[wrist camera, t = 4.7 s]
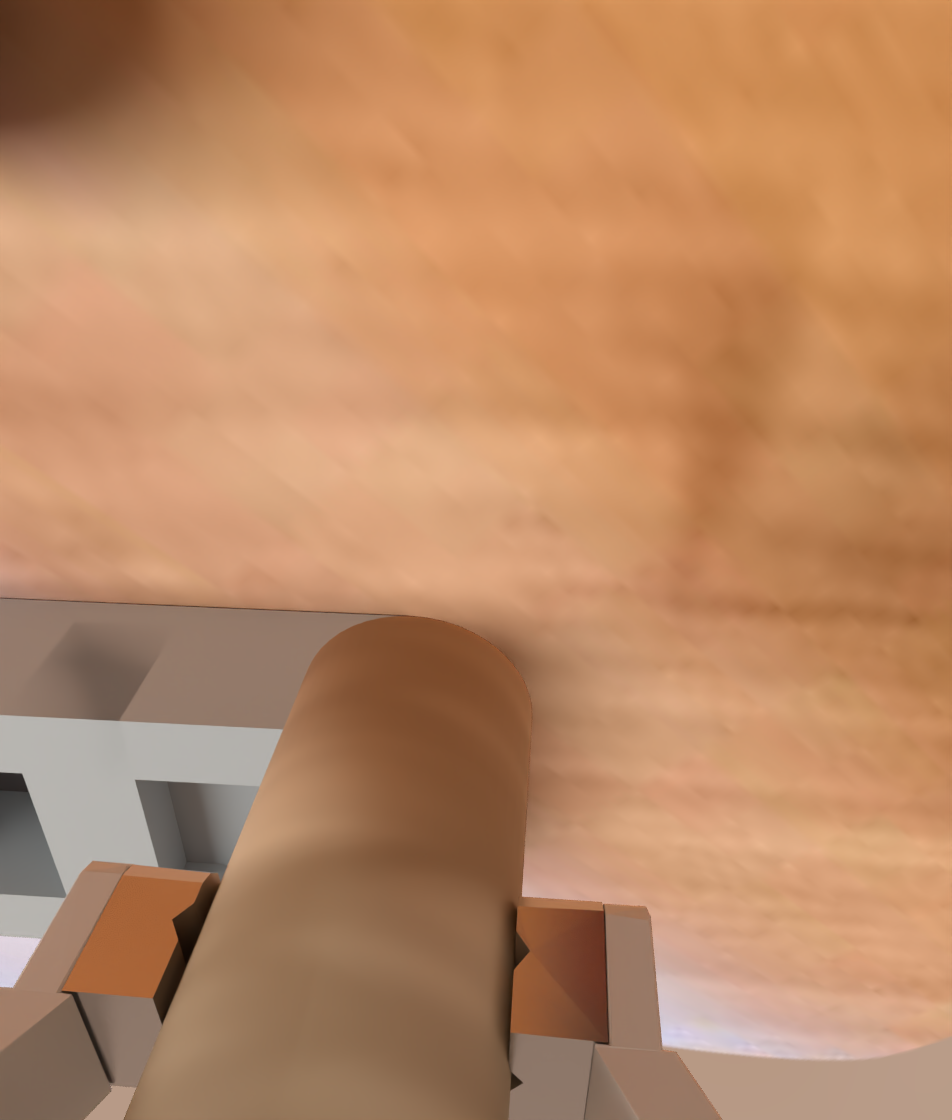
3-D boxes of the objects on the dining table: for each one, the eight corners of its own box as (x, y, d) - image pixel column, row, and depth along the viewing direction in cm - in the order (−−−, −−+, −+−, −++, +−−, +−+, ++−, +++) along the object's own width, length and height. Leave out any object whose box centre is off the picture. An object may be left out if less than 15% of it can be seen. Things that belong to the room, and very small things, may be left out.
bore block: (406, 616, 25) (380, 734, 21) (415, 829, 30) (394, 961, 26) (-121, 593, 26) (-249, 702, 22) (-32, 804, 31) (-124, 928, 27)
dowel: (537, 623, 12) (494, 1342, 6) (528, 800, 14) (488, 1495, 8) (291, 609, 13) (-29, 1278, 6) (314, 784, 15) (92, 1440, 8)
